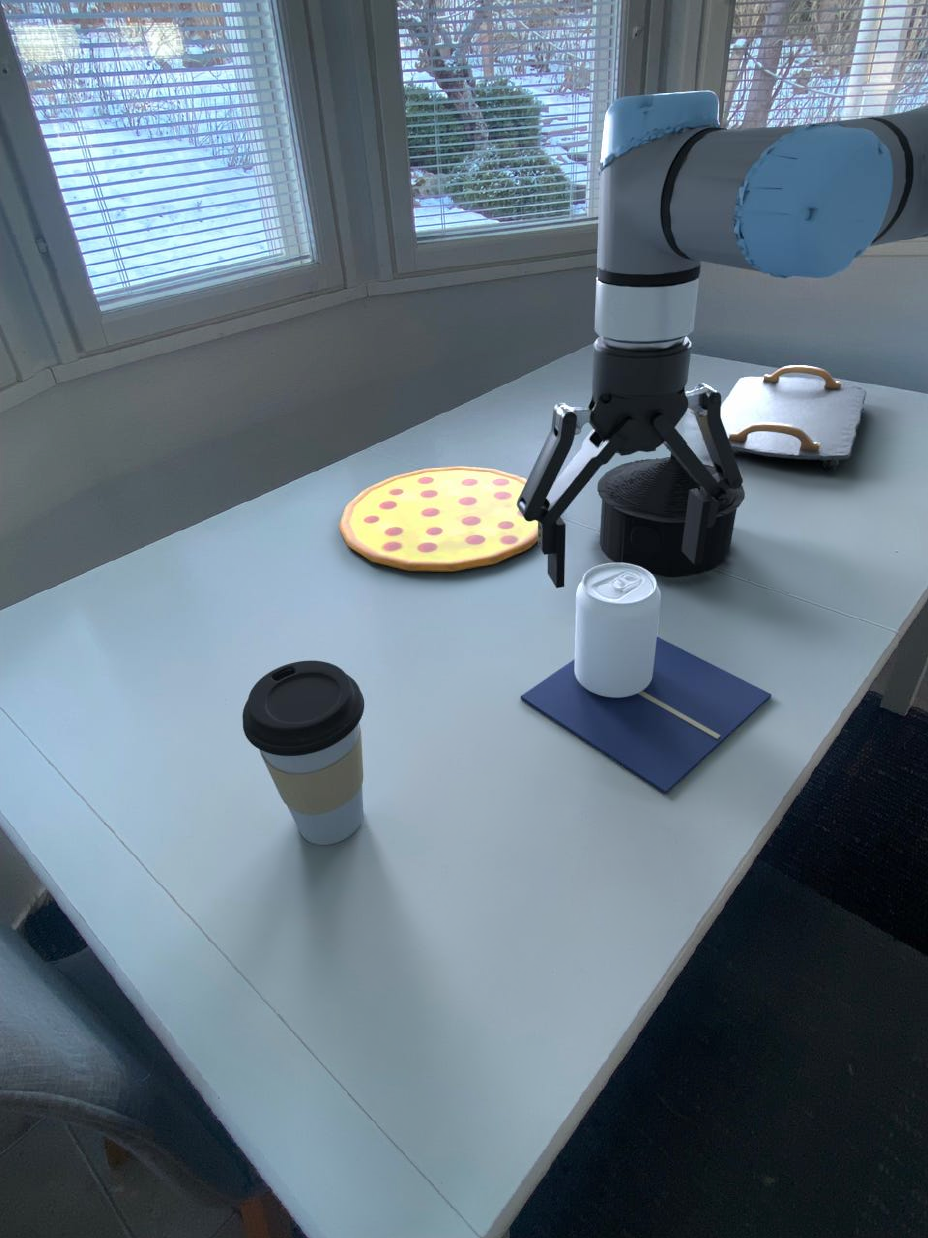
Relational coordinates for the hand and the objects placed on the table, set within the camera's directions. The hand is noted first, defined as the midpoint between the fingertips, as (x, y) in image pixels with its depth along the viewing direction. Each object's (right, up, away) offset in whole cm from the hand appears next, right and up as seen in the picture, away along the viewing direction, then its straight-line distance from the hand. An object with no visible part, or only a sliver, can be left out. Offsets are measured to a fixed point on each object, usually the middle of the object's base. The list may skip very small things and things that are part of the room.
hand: (624, 568), depth 69 cm
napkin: (+3, -13, +6) cm, 15 cm away
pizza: (-18, +10, +40) cm, 45 cm away
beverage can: (+1, -11, +8) cm, 14 cm away
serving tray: (+42, +29, +60) cm, 79 cm away
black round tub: (+12, +5, +31) cm, 33 cm away
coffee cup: (-27, -23, -4) cm, 36 cm away
